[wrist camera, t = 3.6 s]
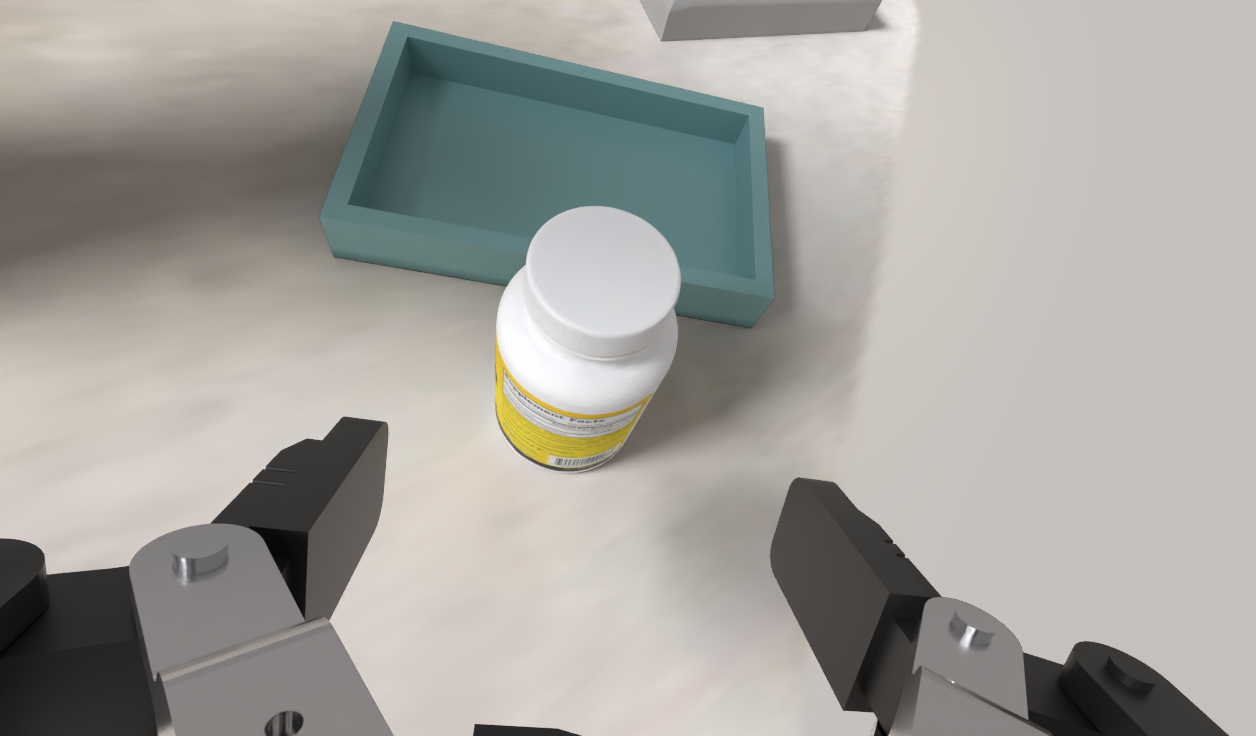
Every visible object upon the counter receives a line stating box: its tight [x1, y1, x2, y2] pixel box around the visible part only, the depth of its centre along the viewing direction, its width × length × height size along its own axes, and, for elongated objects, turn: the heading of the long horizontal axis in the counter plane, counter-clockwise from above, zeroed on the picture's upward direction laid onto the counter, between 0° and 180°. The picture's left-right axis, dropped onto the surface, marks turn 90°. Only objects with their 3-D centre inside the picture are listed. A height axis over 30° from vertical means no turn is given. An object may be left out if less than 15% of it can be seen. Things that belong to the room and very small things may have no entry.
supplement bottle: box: [495, 206, 681, 474], centre depth 19 cm, size 5×5×10 cm
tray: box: [319, 21, 774, 328], centre depth 27 cm, size 18×12×2 cm, turn 86°
